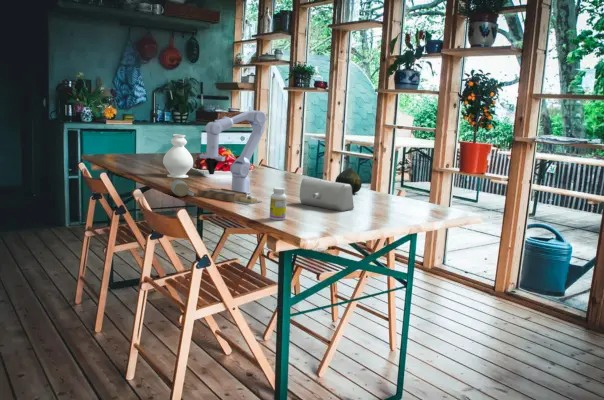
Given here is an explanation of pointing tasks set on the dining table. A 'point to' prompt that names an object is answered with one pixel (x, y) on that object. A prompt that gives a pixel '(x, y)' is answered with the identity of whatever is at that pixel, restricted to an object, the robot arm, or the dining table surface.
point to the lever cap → (247, 199)
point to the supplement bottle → (278, 204)
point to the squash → (350, 179)
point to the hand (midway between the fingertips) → (211, 174)
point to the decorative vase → (178, 158)
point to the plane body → (222, 194)
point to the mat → (246, 203)
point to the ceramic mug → (180, 188)
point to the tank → (326, 194)
